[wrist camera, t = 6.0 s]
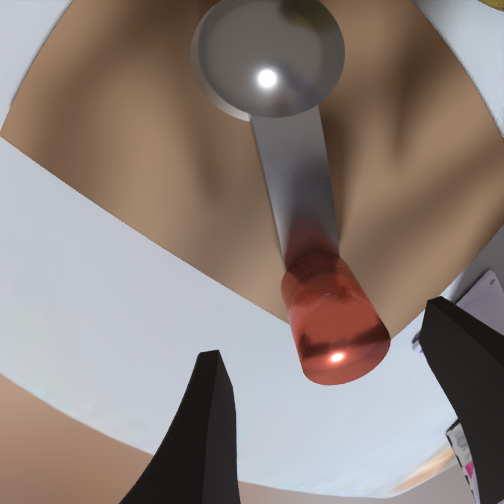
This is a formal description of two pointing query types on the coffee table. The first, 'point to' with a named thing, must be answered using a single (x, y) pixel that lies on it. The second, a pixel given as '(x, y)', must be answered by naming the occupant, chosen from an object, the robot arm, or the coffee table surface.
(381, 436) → the coffee table surface
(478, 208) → the board
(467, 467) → the candy bar box
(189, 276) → the coffee table surface
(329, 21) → the lever
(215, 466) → the robot arm
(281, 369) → the coffee table surface
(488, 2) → the potato
